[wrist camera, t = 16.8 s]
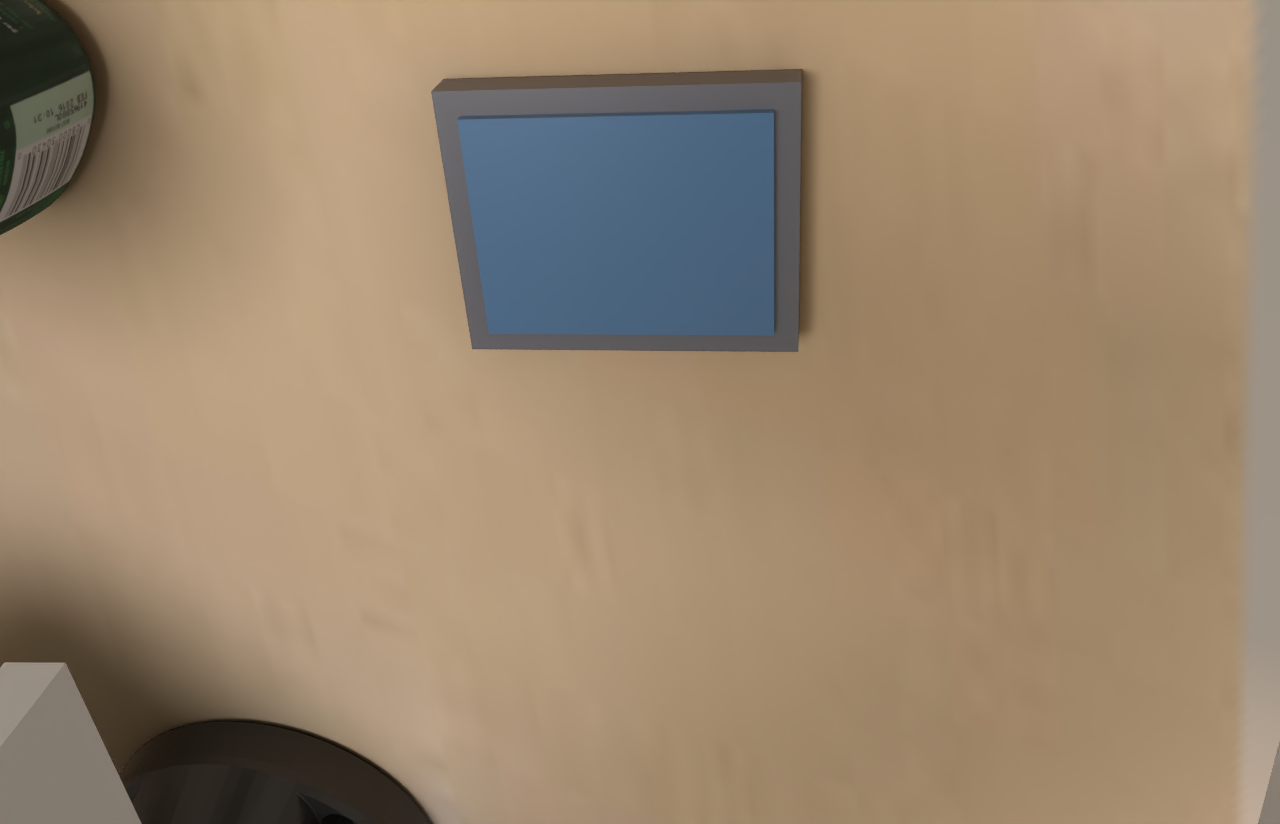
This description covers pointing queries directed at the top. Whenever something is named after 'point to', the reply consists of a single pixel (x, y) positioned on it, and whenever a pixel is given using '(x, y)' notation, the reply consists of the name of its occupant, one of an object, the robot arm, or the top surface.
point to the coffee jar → (40, 108)
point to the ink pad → (626, 209)
